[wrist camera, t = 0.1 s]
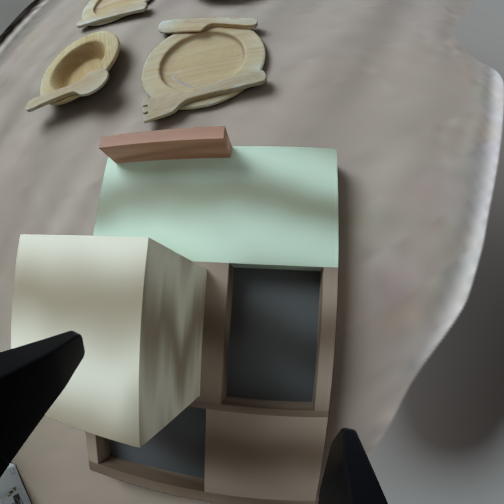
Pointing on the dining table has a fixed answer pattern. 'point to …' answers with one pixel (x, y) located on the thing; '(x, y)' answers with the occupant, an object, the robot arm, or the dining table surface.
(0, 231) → the dining table surface
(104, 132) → the dining table surface
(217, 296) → the board
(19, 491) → the light bulb box
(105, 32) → the tableware set
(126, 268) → the ash block
